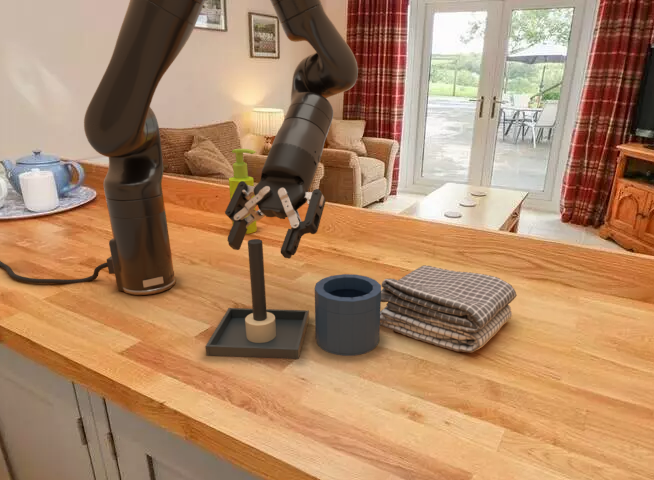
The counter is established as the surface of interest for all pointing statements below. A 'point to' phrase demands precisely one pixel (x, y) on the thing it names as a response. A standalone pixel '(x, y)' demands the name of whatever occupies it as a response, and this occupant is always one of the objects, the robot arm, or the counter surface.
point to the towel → (447, 307)
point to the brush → (258, 298)
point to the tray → (235, 343)
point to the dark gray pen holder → (347, 314)
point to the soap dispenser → (241, 179)
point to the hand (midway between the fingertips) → (258, 251)
